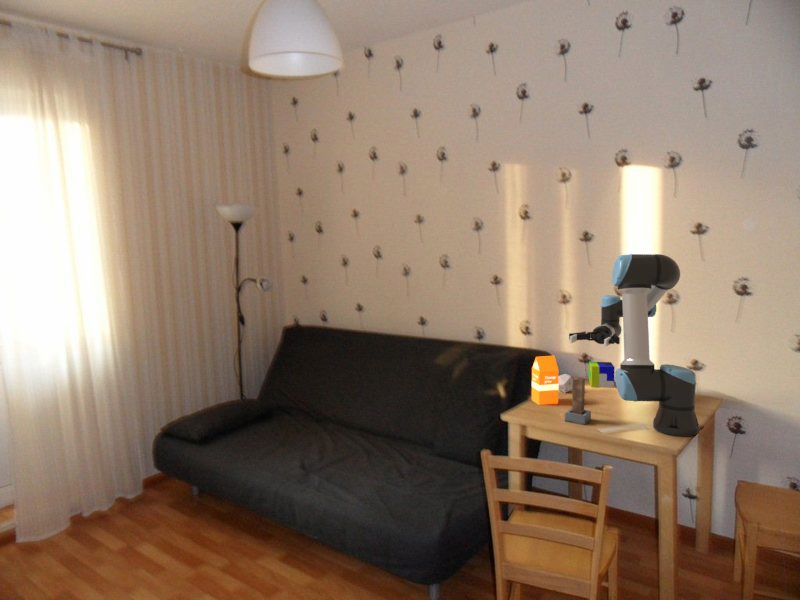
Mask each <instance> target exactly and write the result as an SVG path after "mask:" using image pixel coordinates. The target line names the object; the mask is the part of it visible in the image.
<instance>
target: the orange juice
mask: <svg viewBox="0 0 800 600" xmlns="http://www.w3.org/2000/svg"><path fill="white" fill-rule="evenodd" d="M558 377H559V367H558V364H557V359H556V357H555V355H545V356H544V355H543V356H541V355H539V356H535V359H534V361H533V365H532V367H531V401H533V402H534V403H536V404H537V405H538V406H540V405H541V406H542V405H554V404H559V389H558Z"/></svg>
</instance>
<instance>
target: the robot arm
mask: <svg viewBox="0 0 800 600" xmlns="http://www.w3.org/2000/svg"><path fill="white" fill-rule="evenodd" d="M680 278H681V269H680V266H679V265H678V263H677V262H676V260H674V259H673V258H671V257H669V256H667V255H665V254H661V253H657V254H656V253H655V254H649V253H648V254H645V253H644V254H643V253H641V254H639V253H638V254H635V253H634V254H632V253H630V254H622V255H619V256H617V258H616V259H615V261H614V263H613V267H612V273H611V281H612V282H611V283H612V285H613V286H614V287H617V292H618V293H619V294H620V295H621V297H620V296H619V295H613V294H612V295H611V294H610V295H609V294H607V295H603V296H602V298H601V305H600V308H601V310H600V311H601V312H600V313H601V315H600V317H601V320H600V322H601V323H600V325H598V326H596V327H595V328H594V329H593V330H592V331H581V332H572V333H569V334H568V339H569V340H568V341H569V344H573V343H576V342H577V341H585V340H587V341H594V342H595V343H596V344H599V345H603V346H604V347H608V346H610V345H614V344H617V345H620V342H621V338H620V337H619V336H620V335H621V333H622V332H623V355H624V357H623V361H621V362H620V364H619V368H617V369H615V371H614V382H615V386H616V390H617V393H618V395H619V397H620V398H621V399H622V400H623V401H626V402H636V403H637V402H658V409H657V411H656V413H655V417H654V419H653V421H652V424H653V425H652V426H653V429H654V430H656V431H658V432H660V433H663V434H665V435H671V436H677V437H692V436H696V435H698V434H699V433H700V424H699V421H698V418H697V415H696V411H695V406H696V405H695V402H696V385H697V383H696V381H697V377H696V375H697V374H696V373H695V371H693V370H692V369H689V368H687V367H684V366H680V365H675V364H660V367H659V369H656V368H655V363H654V362H653V361H652V360H651V359H650V334H649V318H653V317H655V316H656V312H657V304H658V302H660V300H661V299H662V298H663V296H664V295H665V294H666V293H667V292H668V290H672V289H673V288H675V286H677V284H678V283H679V281H680ZM620 318H622V324H623V325H622V326H623V327H622V326H621V324H620ZM622 328H623V329H622ZM622 330H623V331H622Z"/></svg>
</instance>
